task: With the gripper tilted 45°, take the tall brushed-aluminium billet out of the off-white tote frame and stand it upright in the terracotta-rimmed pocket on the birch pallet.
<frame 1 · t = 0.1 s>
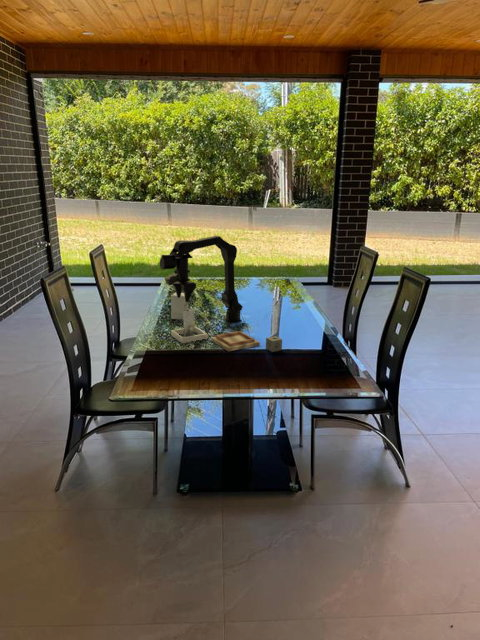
hand: (182, 299, 244), 15 cm above the table, tool pointing down, fingers open, 9 cm apart
billet: (188, 323, 235), in the tote frame
supplement box: (180, 317, 267), on the table
dice cube: (273, 349, 223), on the table
pallet: (235, 342, 230), on the table
tote frame: (189, 337, 237), on the table
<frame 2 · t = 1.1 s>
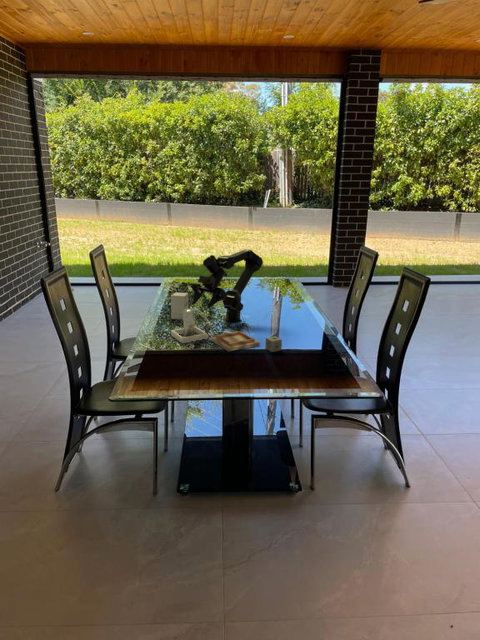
hand: (200, 305, 239), 13 cm above the table, tool tilted 45°, fingers open, 9 cm apart
nothing on the table moved.
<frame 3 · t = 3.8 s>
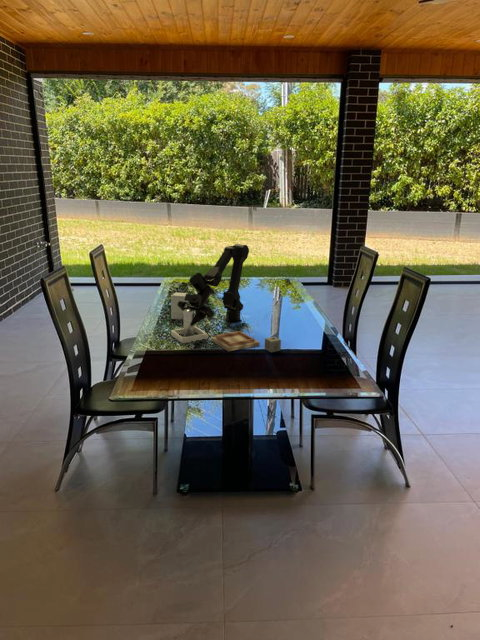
hand: (186, 324, 234), 7 cm above the table, tool tilted 45°, fingers closed on billet, 5 cm apart
billet: (188, 323, 235), in the tote frame, touching gripper
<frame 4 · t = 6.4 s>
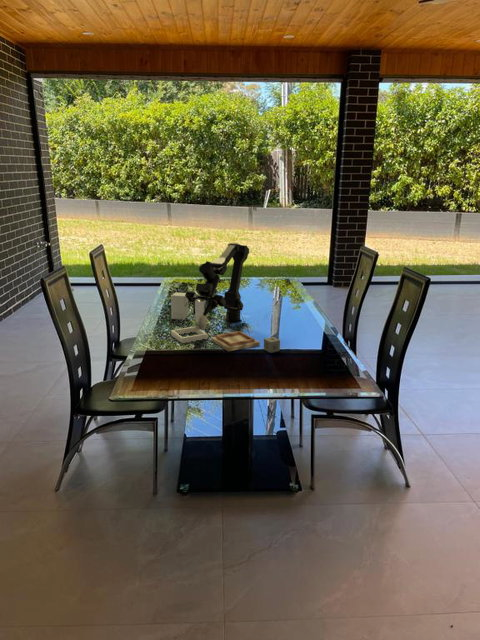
hand: (199, 314, 229), 12 cm above the table, tool tilted 45°, fingers closed on billet, 5 cm apart
billet: (200, 314, 230), point 12 cm above the table, touching gripper
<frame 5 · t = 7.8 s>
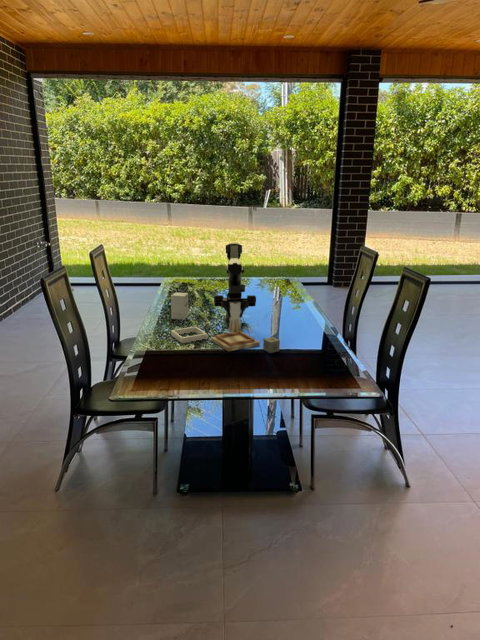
hand: (235, 317, 225), 12 cm above the table, tool tilted 45°, fingers closed on billet, 5 cm apart
billet: (235, 316, 226), point 12 cm above the table, touching gripper
when the fingers open (9 cm above the table, at t = 9.0 s): billet stays where it is, resting on pallet.
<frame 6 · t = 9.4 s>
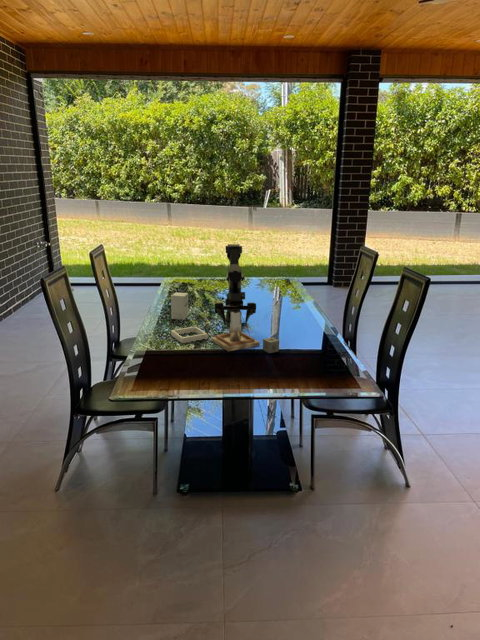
hand: (235, 324, 226), 9 cm above the table, tool tilted 45°, fingers open, 9 cm apart
billet: (235, 326, 228), in the pallet, point 8 cm above the table
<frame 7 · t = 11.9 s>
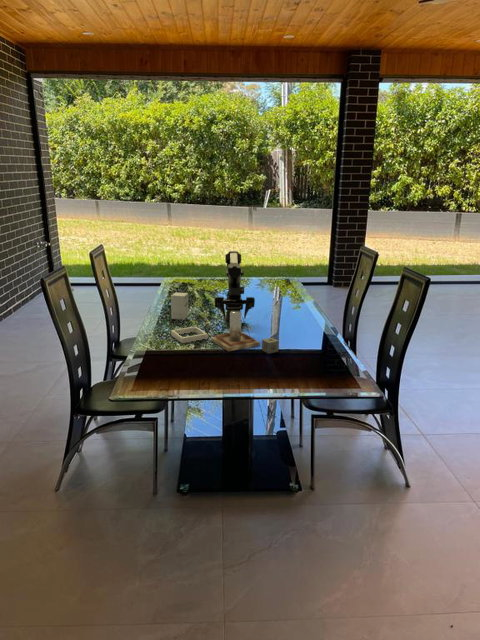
hand: (234, 318, 236), 9 cm above the table, tool tilted 45°, fingers open, 9 cm apart
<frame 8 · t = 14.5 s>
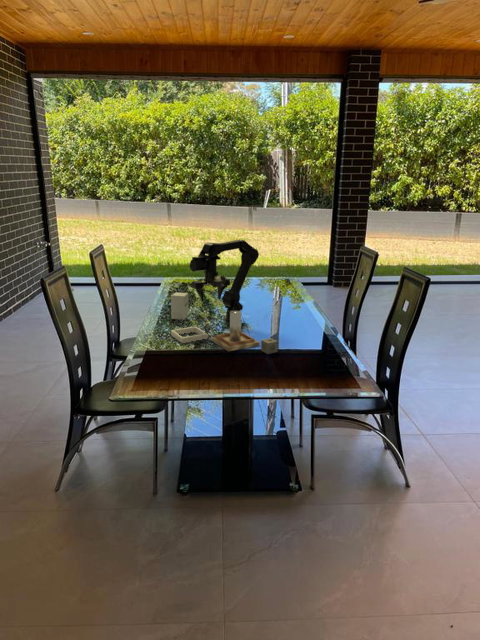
hand: (210, 300, 250), 13 cm above the table, tool pointing down, fingers open, 9 cm apart
at the end: billet 0.0 cm off-centre on the pallet, point 8.0 cm above the pallet's base; billet tilted 0°; the gripper is holding nothing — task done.
